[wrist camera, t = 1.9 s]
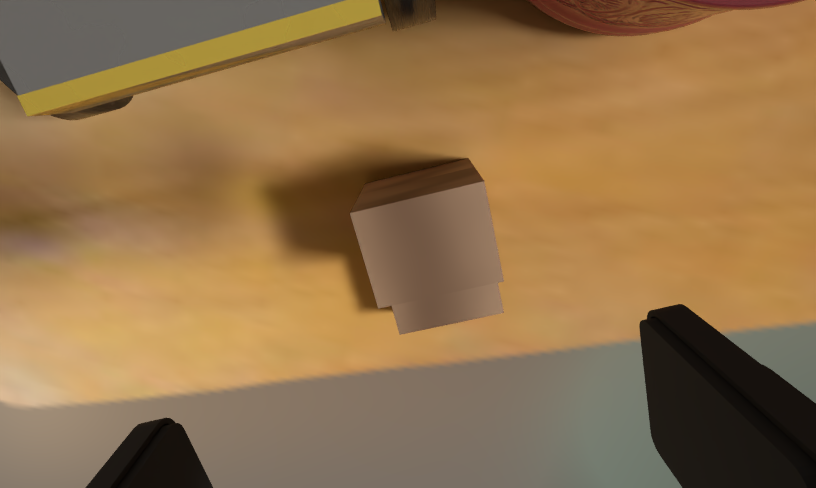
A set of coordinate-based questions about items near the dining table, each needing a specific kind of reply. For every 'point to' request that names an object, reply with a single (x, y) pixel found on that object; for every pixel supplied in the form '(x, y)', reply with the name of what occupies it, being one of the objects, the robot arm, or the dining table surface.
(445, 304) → the block
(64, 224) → the dining table surface
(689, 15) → the canister
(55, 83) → the trolley
